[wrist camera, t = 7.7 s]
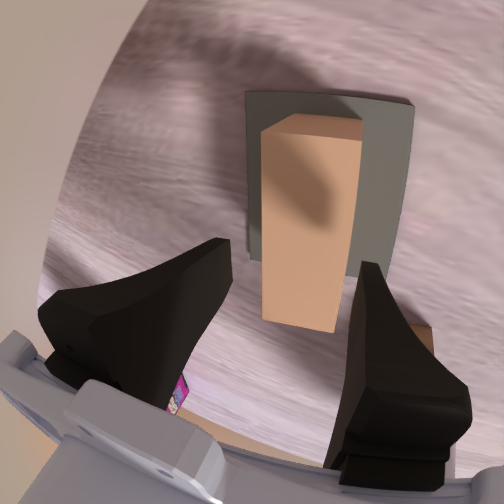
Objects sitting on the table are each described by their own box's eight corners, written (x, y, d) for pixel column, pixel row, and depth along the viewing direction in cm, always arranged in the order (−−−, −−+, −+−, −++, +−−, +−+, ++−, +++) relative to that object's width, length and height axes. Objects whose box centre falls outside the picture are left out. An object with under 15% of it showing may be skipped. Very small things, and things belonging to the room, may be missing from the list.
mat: (385, 278, 21) (385, 282, 21) (252, 255, 24) (250, 259, 24) (413, 105, 15) (415, 106, 15) (248, 91, 18) (245, 91, 18)
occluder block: (345, 266, 22) (333, 333, 16) (289, 257, 23) (262, 319, 18) (362, 119, 16) (362, 141, 11) (294, 113, 17) (260, 132, 12)
